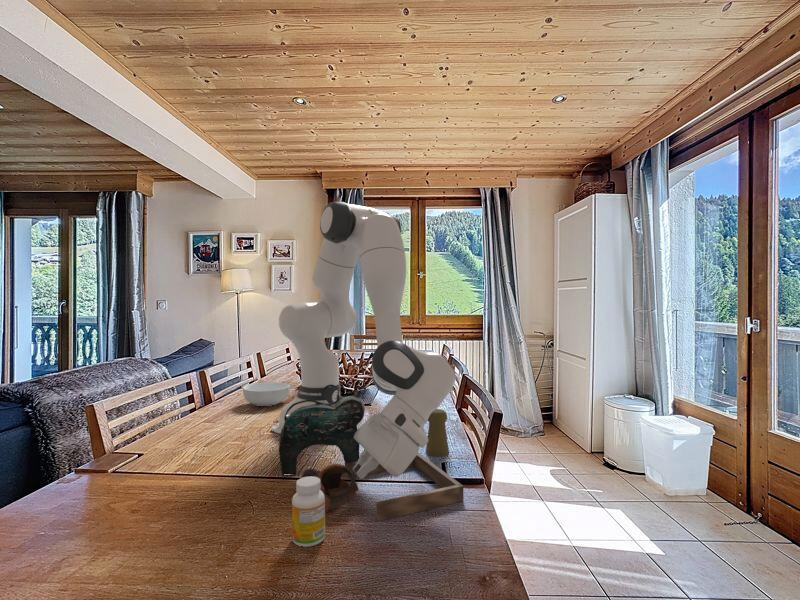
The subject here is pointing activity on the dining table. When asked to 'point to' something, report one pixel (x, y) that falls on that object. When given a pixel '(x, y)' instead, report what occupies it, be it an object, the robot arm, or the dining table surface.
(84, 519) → the dining table surface
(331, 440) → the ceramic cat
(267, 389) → the cereal bowl
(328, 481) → the pottery mug
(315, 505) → the supplement bottle
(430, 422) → the cork
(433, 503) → the wooden open frame
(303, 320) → the robot arm
